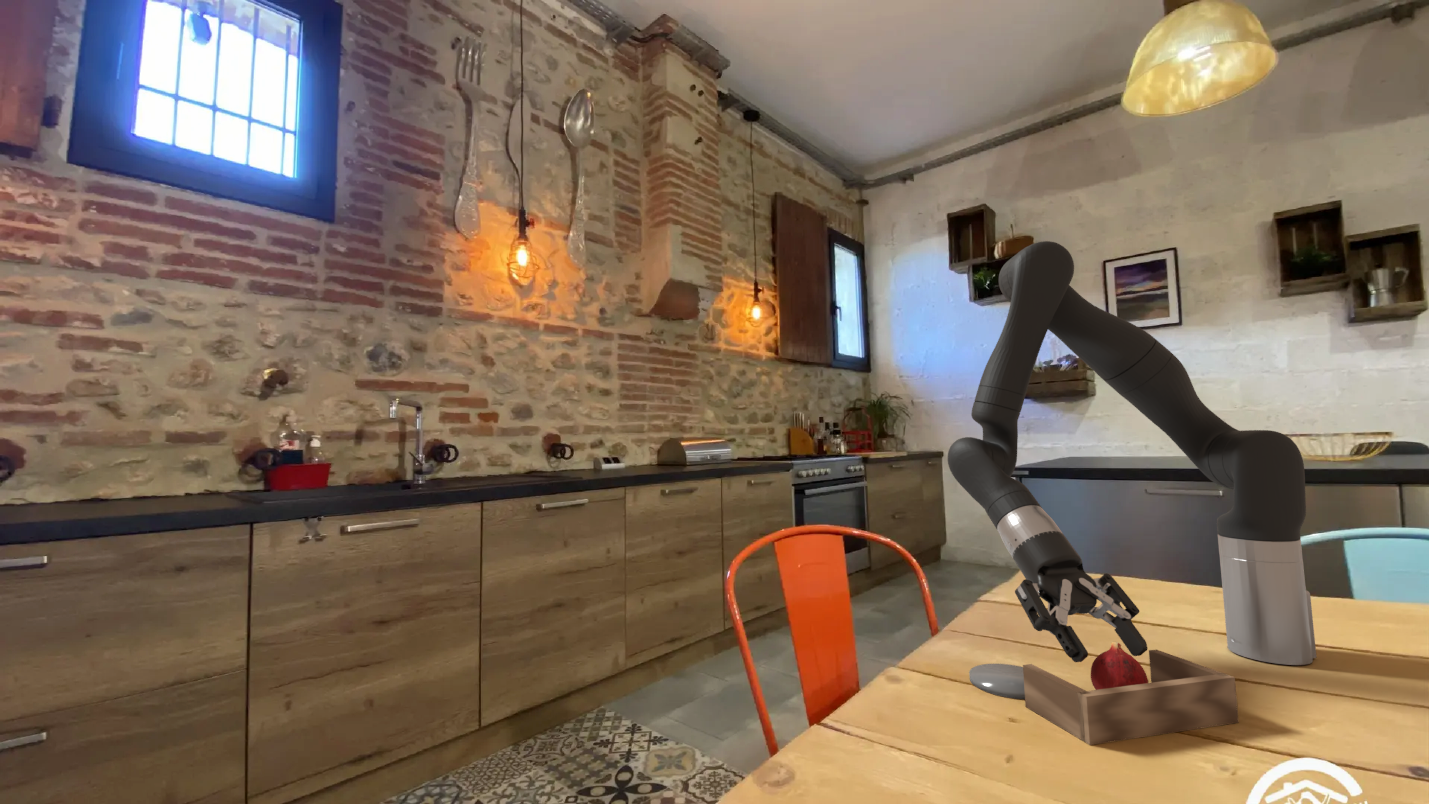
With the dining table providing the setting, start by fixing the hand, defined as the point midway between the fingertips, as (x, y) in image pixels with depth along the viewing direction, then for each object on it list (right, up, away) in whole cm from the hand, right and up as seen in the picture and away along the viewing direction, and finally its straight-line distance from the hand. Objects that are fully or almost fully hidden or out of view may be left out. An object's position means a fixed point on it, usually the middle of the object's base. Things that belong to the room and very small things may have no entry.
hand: (1112, 656), depth 72 cm
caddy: (+1, -6, -1) cm, 6 cm away
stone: (-9, -7, +8) cm, 14 cm away
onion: (0, -6, -1) cm, 6 cm away
